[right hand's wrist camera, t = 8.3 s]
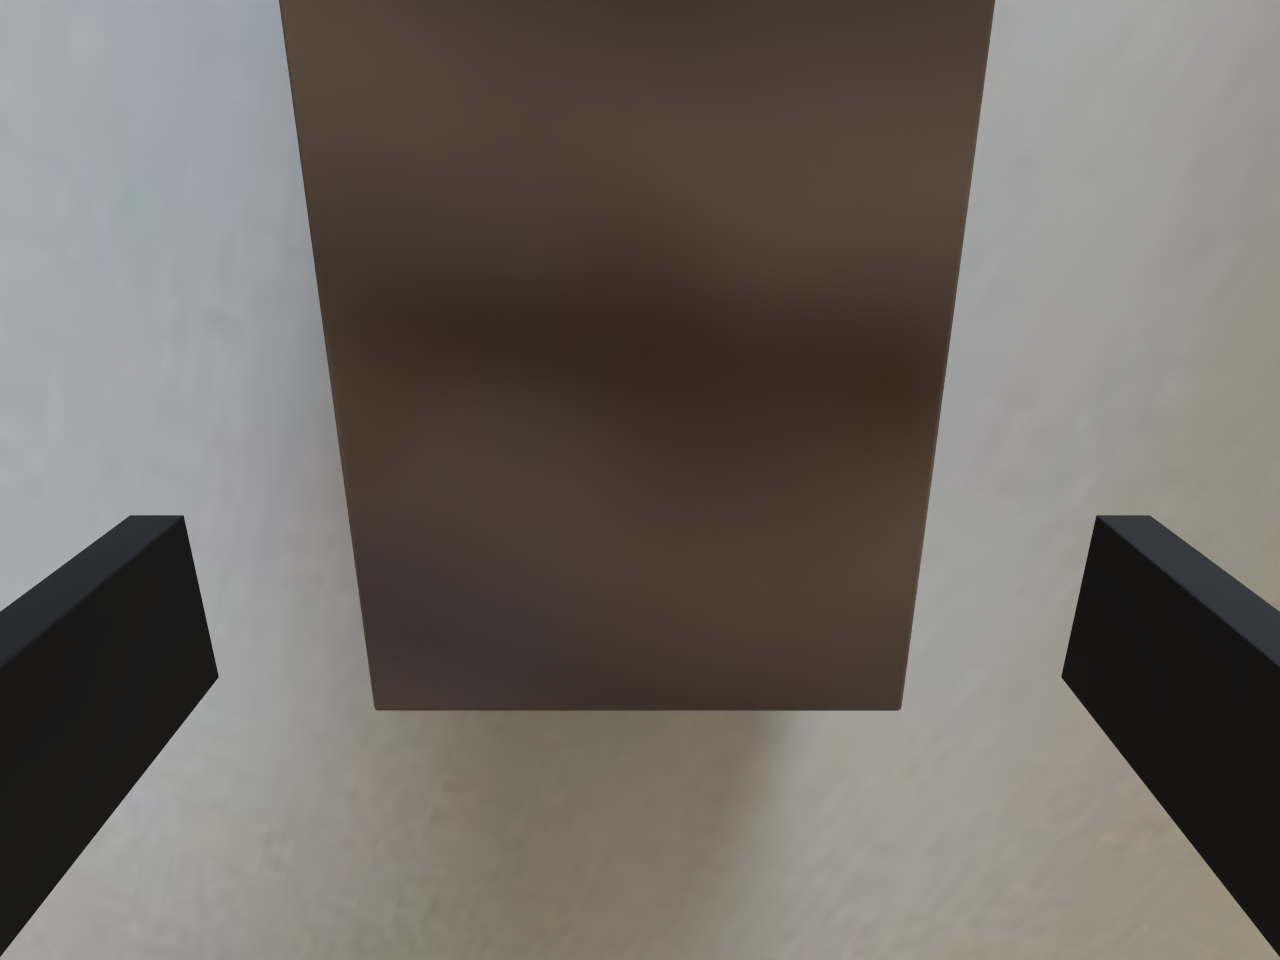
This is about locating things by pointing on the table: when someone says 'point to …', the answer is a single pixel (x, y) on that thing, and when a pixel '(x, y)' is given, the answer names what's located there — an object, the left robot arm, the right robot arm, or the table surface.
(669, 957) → the table surface
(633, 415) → the cabinet
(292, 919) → the table surface
